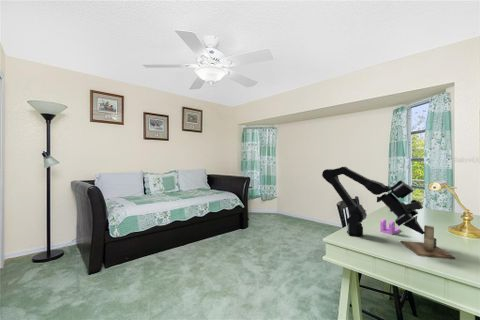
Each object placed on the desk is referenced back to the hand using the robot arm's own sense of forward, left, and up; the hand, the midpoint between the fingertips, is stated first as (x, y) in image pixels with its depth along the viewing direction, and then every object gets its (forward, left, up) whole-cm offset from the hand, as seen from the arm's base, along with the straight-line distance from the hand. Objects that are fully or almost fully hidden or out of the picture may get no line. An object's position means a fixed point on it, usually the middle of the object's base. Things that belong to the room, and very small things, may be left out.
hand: (423, 233), depth 95 cm
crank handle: (+4, +3, -7) cm, 8 cm away
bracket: (-2, +28, -8) cm, 29 cm away
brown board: (+2, +2, -8) cm, 8 cm away
